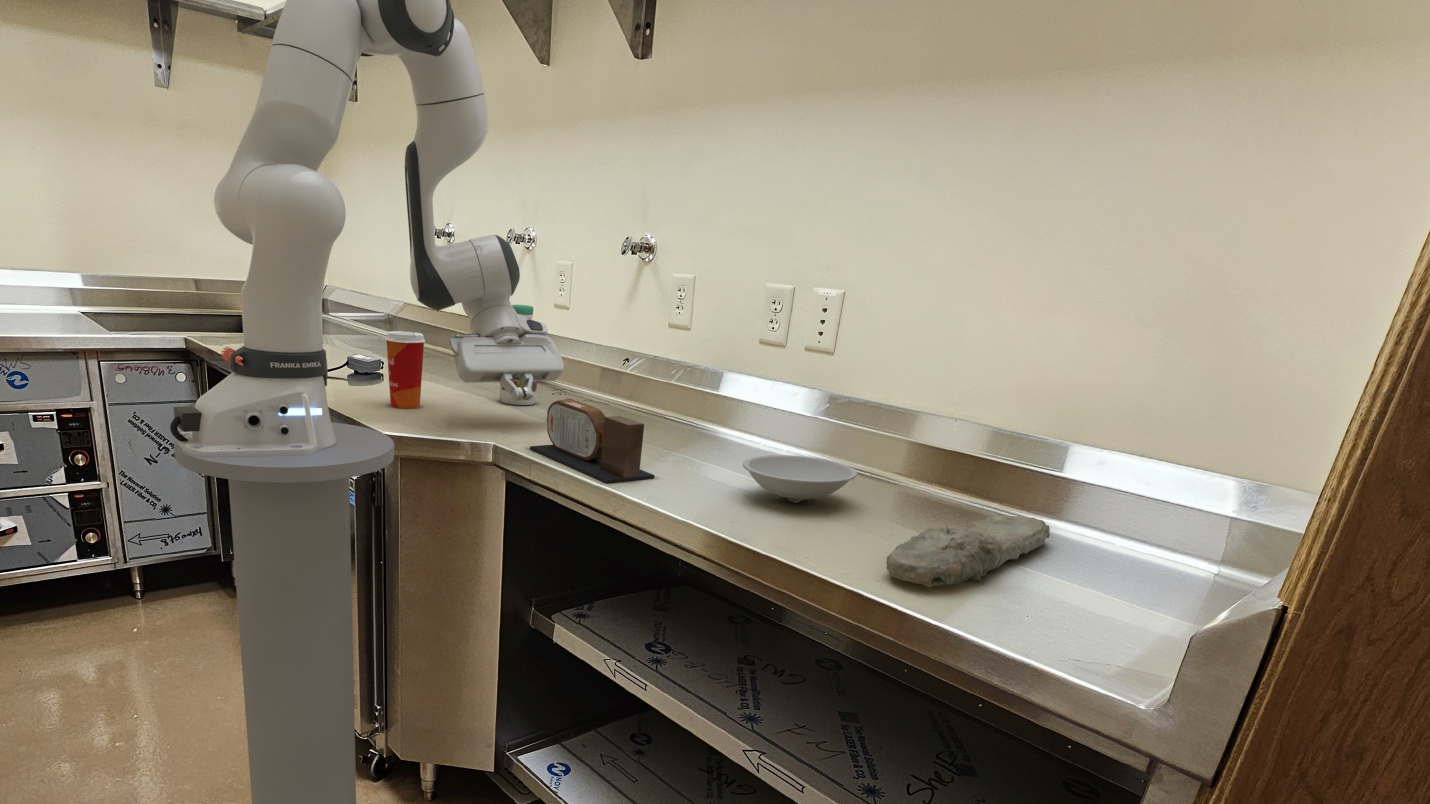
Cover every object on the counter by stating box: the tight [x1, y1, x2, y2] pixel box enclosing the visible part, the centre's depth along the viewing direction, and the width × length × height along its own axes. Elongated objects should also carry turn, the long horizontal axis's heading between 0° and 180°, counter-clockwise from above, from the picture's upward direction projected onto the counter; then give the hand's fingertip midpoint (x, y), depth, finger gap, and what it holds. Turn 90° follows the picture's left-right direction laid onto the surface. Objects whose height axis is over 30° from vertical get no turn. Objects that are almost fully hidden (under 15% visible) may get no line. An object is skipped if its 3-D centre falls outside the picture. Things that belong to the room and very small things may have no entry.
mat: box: [529, 444, 655, 484], centre depth 133 cm, size 9×22×1 cm, turn 35°
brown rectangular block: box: [600, 415, 645, 478], centre depth 126 cm, size 3×6×8 cm, turn 35°
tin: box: [546, 397, 607, 461], centre depth 134 cm, size 15×3×8 cm, turn 36°
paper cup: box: [384, 330, 426, 410], centre depth 163 cm, size 8×8×14 cm
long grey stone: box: [885, 514, 1051, 588], centre depth 101 cm, size 35×5×10 cm
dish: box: [742, 454, 858, 503], centre depth 121 cm, size 18×14×5 cm
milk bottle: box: [499, 304, 538, 406], centre depth 175 cm, size 8×8×20 cm
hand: (523, 398), depth 147 cm, fingers closed
